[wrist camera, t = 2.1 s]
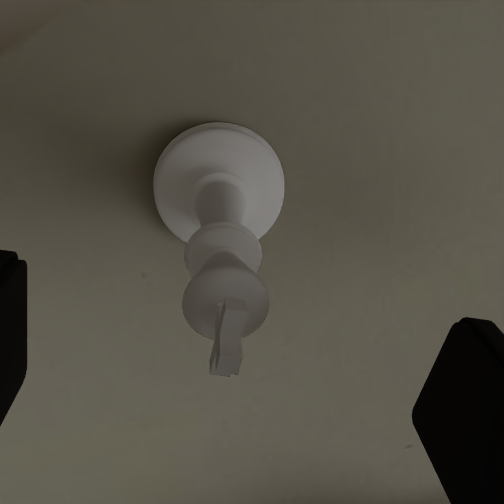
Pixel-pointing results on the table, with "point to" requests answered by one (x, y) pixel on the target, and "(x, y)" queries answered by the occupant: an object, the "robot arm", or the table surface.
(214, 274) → the chess piece
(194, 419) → the table surface
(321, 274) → the table surface
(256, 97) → the table surface
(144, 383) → the table surface
